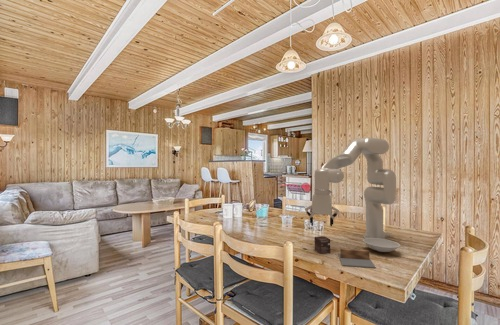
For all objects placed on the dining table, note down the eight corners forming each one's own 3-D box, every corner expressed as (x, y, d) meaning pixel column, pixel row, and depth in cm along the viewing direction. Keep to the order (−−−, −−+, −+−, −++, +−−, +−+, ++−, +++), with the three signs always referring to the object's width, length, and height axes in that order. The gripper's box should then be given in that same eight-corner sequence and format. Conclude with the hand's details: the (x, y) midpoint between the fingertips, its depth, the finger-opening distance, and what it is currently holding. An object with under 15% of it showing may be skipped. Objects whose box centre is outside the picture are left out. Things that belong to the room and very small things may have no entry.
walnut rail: (368, 258, 121) (368, 250, 121) (369, 259, 120) (369, 251, 120) (340, 256, 124) (340, 248, 124) (340, 257, 123) (340, 249, 123)
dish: (401, 251, 133) (401, 241, 133) (399, 260, 121) (399, 249, 121) (365, 244, 143) (365, 236, 142) (360, 252, 131) (360, 243, 131)
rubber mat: (367, 256, 125) (367, 255, 125) (375, 268, 112) (375, 267, 112) (338, 254, 128) (338, 253, 128) (342, 266, 115) (342, 264, 115)
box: (320, 254, 129) (320, 240, 129) (314, 250, 135) (314, 236, 135) (330, 253, 131) (330, 239, 131) (324, 249, 136) (324, 235, 136)
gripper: (337, 192, 134) (337, 224, 134) (304, 191, 138) (304, 222, 138) (340, 194, 127) (339, 227, 127) (305, 192, 130) (304, 225, 130)
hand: (321, 225), depth 132 cm, fingers open, 9 cm apart
